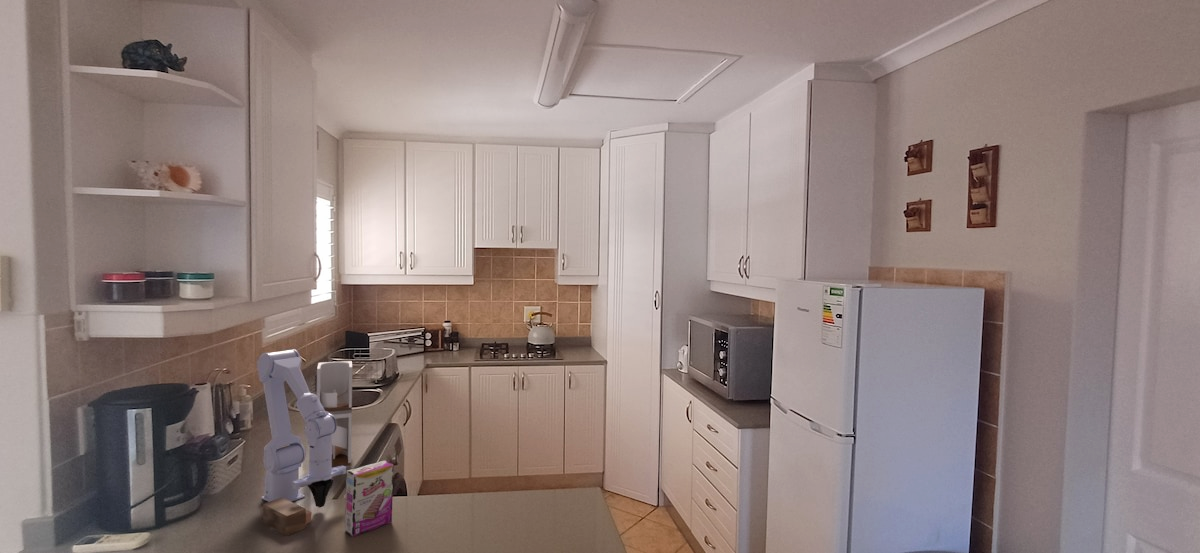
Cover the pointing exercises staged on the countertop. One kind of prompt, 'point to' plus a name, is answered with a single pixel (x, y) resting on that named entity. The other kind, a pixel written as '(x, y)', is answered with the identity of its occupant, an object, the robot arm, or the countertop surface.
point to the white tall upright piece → (337, 406)
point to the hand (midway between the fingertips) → (319, 505)
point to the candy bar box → (368, 497)
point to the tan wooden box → (284, 516)
